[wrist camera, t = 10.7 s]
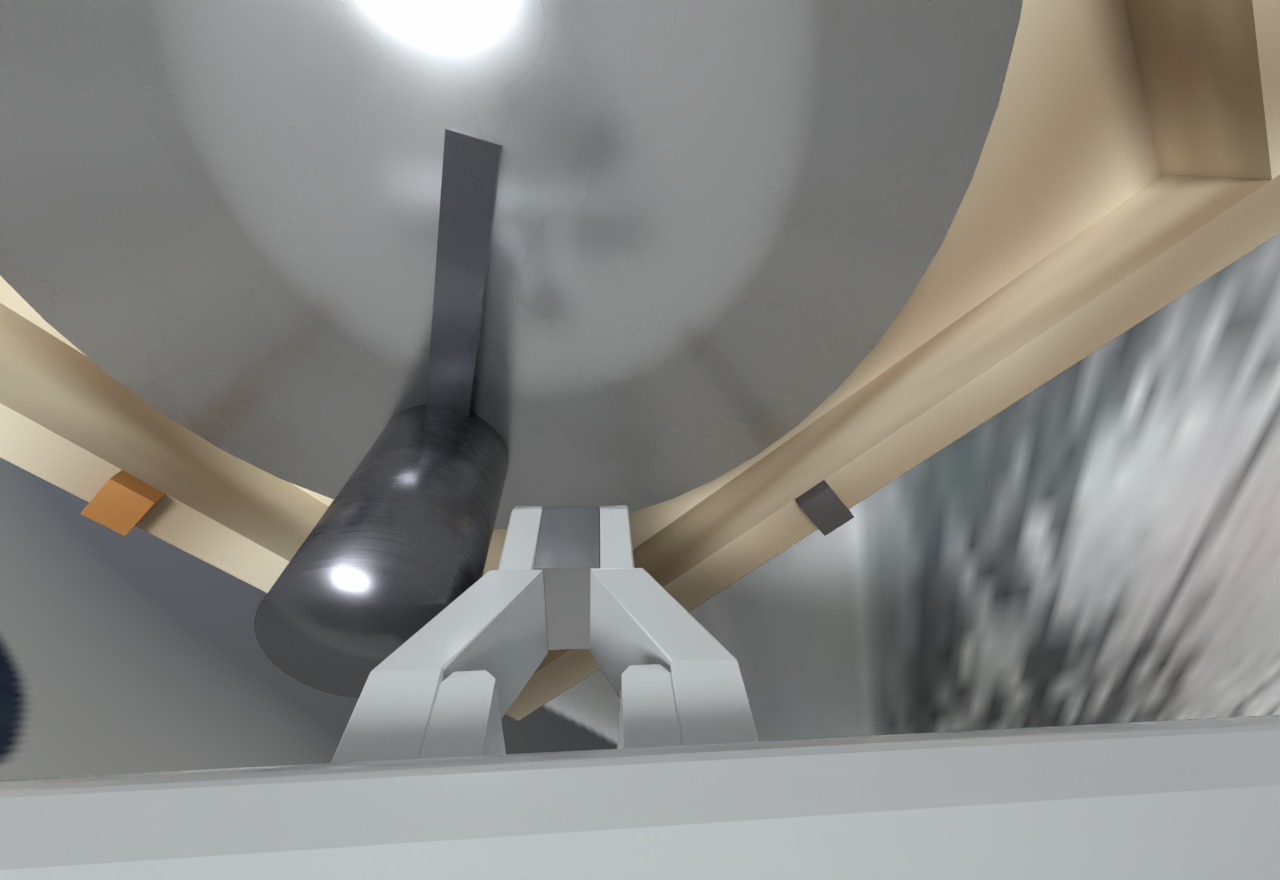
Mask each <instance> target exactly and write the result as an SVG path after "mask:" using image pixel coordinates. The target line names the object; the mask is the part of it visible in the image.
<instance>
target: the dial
mask: <svg viewBox="0 0 1280 880" xmlns="http://www.w3.org/2000/svg"><path fill="white" fill-rule="evenodd" d="M1022 3H1023V0H0V276H1V277H2V278H3V279H4V280H5V281H6V282H7V283H8V284H9V285H10V286H11V287H12V288H13V289H14V290H15V291H16V292H17V293H18V294H19V295H20V296H21V297H22V298H23V299H24V300H25V301H26V302H27V303H28V304H29V305H30V306H31V307H32V308H33V309H34V310H35V311H36V312H37V313H38V314H39V315H40V316H41V317H42V318H43V319H44V320H45V321H46V322H47V323H48V324H50V325H51V326H52V327H53V328H54V329H55V330H57V331H58V332H59V333H60V334H61V335H62V336H64V337H65V338H66V339H67V340H68V341H69V342H71V343H72V344H73V345H74V346H75V347H76V348H78V349H79V350H80V351H81V352H82V353H84V354H85V355H86V356H87V357H88V358H89V359H91V360H92V361H93V362H94V363H95V364H96V365H98V366H99V367H100V368H101V369H102V370H103V371H105V372H106V373H107V374H108V375H110V376H111V377H112V378H114V379H115V380H117V381H118V382H119V383H121V384H122V385H123V386H125V387H126V388H128V389H129V390H130V391H132V392H133V393H135V394H136V395H137V396H139V397H140V398H142V399H143V400H144V401H146V402H147V403H148V404H150V405H151V406H153V407H154V408H155V409H157V410H158V411H160V412H161V413H162V414H164V415H165V416H167V417H168V418H170V419H171V420H173V421H175V422H176V423H178V424H180V425H181V426H183V427H185V428H186V429H188V430H190V431H191V432H193V433H195V434H196V435H198V436H200V437H201V438H203V439H205V440H206V441H208V442H210V443H211V444H213V445H215V446H216V447H218V448H220V449H221V450H223V451H225V452H227V453H229V454H231V455H233V456H235V457H237V458H239V459H241V460H243V461H245V462H247V463H249V464H251V465H253V466H255V467H257V468H259V469H261V470H263V471H265V472H268V473H270V474H272V475H274V476H276V477H278V478H280V479H282V480H285V481H287V482H290V483H292V484H295V485H298V486H300V487H303V488H305V489H308V490H311V491H313V492H316V493H318V494H321V495H324V496H326V497H329V498H331V499H334V500H333V502H332V503H331V504H330V506H329V507H328V509H327V510H326V511H325V513H324V514H323V516H322V517H321V519H320V520H319V521H318V523H317V524H316V526H315V527H314V528H313V530H312V531H311V533H310V534H309V535H308V537H307V538H306V540H305V541H304V542H303V544H302V545H301V547H300V548H299V549H298V551H297V552H296V554H295V555H294V557H293V558H292V559H291V561H290V562H289V564H288V565H287V566H286V568H285V569H284V571H283V572H282V573H281V575H280V576H279V578H278V579H277V580H276V582H275V583H274V585H273V586H272V588H271V589H270V590H269V592H268V593H267V595H266V596H265V597H264V599H263V600H262V602H261V603H260V605H259V607H258V609H257V611H256V615H255V621H254V624H255V625H254V626H255V634H256V637H257V640H258V642H259V645H260V646H261V648H262V650H263V651H264V653H265V654H266V656H267V657H268V658H269V659H270V660H271V661H272V662H273V663H274V664H275V665H276V666H277V667H278V668H280V669H281V670H282V671H283V672H285V673H287V674H288V675H290V676H291V677H292V678H294V679H296V680H298V681H300V682H301V683H304V684H306V685H308V686H311V687H313V688H315V689H318V690H321V691H324V692H327V693H331V694H335V695H339V696H345V697H351V698H359V697H360V695H361V692H362V690H363V688H364V686H365V683H366V681H367V679H368V676H369V674H370V672H371V671H372V670H373V669H374V668H375V667H377V666H378V665H379V664H380V663H381V662H382V661H384V660H385V659H386V658H387V657H388V656H389V655H391V654H392V653H393V652H394V651H395V650H396V649H398V648H399V647H400V646H401V645H402V644H404V643H405V642H406V641H407V640H408V639H409V638H411V637H412V636H413V635H414V634H415V633H416V632H418V631H419V630H420V629H421V628H422V627H423V626H425V625H426V624H427V623H428V622H429V621H431V620H432V619H433V618H434V617H435V616H436V615H438V614H439V613H440V612H441V611H442V610H443V609H445V608H446V607H447V606H448V605H449V604H450V603H452V602H453V601H454V600H455V599H456V598H457V597H459V596H460V595H461V594H462V593H463V592H465V591H466V590H467V589H468V588H469V587H470V586H472V585H473V584H474V583H475V582H476V581H477V580H479V579H480V578H481V577H482V576H483V572H484V567H485V563H486V559H487V555H488V551H489V547H490V542H491V538H492V534H493V530H494V529H508V525H509V521H510V516H511V512H512V510H513V508H514V507H515V506H542V507H544V506H575V507H599V508H600V506H617V505H627V507H628V508H629V513H631V512H634V511H637V510H640V509H643V508H646V507H649V506H653V505H656V504H659V503H662V502H665V501H668V500H671V499H673V498H676V497H678V496H680V495H682V494H685V493H687V492H689V491H691V490H693V489H696V488H698V487H700V486H702V485H705V484H707V483H709V482H711V481H713V480H715V479H717V478H719V477H721V476H722V475H724V474H726V473H728V472H729V471H731V470H733V469H734V468H736V467H738V466H740V465H741V464H743V463H745V462H746V461H748V460H750V459H752V458H753V457H755V456H757V455H758V454H759V453H761V452H762V451H763V450H765V449H766V448H768V447H769V446H770V445H772V444H773V443H774V442H776V441H777V440H779V439H780V438H781V437H783V436H784V435H785V434H787V433H788V432H789V431H791V430H792V429H794V428H795V427H796V426H797V425H799V424H800V423H801V422H802V421H803V420H804V419H805V418H806V417H807V416H809V415H810V414H811V413H812V412H813V411H814V410H815V409H816V408H817V407H818V406H820V405H821V404H822V403H823V402H824V401H825V400H826V399H827V398H828V397H829V396H831V395H832V394H833V393H834V392H835V391H836V390H837V389H838V388H839V387H840V386H841V384H842V383H843V382H844V381H845V380H846V379H847V378H848V377H849V376H850V374H851V373H852V372H853V371H854V370H855V369H856V368H857V367H858V366H859V364H860V363H861V362H862V361H863V360H864V359H865V358H866V357H867V356H868V354H869V353H870V352H871V351H872V350H873V349H874V347H875V346H876V345H877V343H878V342H879V341H880V339H881V338H882V336H883V335H884V334H885V332H886V331H887V330H888V328H889V327H890V325H891V324H892V323H893V321H894V320H895V319H896V317H897V316H898V315H899V313H900V312H901V310H902V309H903V308H904V306H905V305H906V304H907V302H908V301H909V299H910V298H911V296H912V294H913V292H914V291H915V289H916V287H917V286H918V284H919V282H920V281H921V279H922V277H923V275H924V274H925V272H926V270H927V269H928V267H929V265H930V264H931V262H932V260H933V259H934V257H935V255H936V253H937V252H938V250H939V248H940V247H941V245H942V243H943V241H944V239H945V237H946V234H947V232H948V230H949V228H950V226H951V224H952V221H953V219H954V217H955V215H956V213H957V211H958V209H959V206H960V204H961V202H962V200H963V198H964V196H965V194H966V191H967V189H968V187H969V185H970V183H971V181H972V178H973V175H974V173H975V170H976V167H977V164H978V161H979V158H980V156H981V153H982V150H983V147H984V144H985V141H986V139H987V136H988V133H989V130H990V127H991V124H992V122H993V119H994V116H995V113H996V110H997V108H998V105H999V101H1000V97H1001V93H1002V89H1003V85H1004V81H1005V77H1006V73H1007V69H1008V65H1009V61H1010V57H1011V53H1012V49H1013V45H1014V41H1015V37H1016V33H1017V29H1018V25H1019V21H1020V16H1021V10H1022Z"/></svg>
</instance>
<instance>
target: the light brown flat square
mask: <svg viewBox="0 0 1280 880" xmlns="http://www.w3.org/2000/svg"><path fill="white" fill-rule="evenodd" d="M1278 233H1280V0H1023V3H1022V10H1021V16H1020V21H1019V25H1018V29H1017V33H1016V37H1015V41H1014V45H1013V49H1012V53H1011V57H1010V61H1009V65H1008V69H1007V73H1006V77H1005V81H1004V85H1003V89H1002V93H1001V97H1000V101H999V105H998V108H997V110H996V113H995V116H994V119H993V122H992V124H991V127H990V130H989V133H988V136H987V139H986V141H985V144H984V147H983V150H982V153H981V156H980V158H979V161H978V164H977V167H976V170H975V173H974V175H973V178H972V181H971V183H970V185H969V187H968V189H967V191H966V194H965V196H964V198H963V200H962V202H961V204H960V206H959V209H958V211H957V213H956V215H955V217H954V219H953V221H952V224H951V226H950V228H949V230H948V232H947V234H946V237H945V239H944V241H943V243H942V245H941V247H940V248H939V250H938V252H937V253H936V255H935V257H934V259H933V260H932V262H931V264H930V265H929V267H928V269H927V270H926V272H925V274H924V275H923V277H922V279H921V281H920V282H919V284H918V286H917V287H916V289H915V291H914V292H913V294H912V296H911V298H910V299H909V301H908V302H907V304H906V305H905V306H904V308H903V309H902V310H901V312H900V313H899V315H898V316H897V317H896V319H895V320H894V321H893V323H892V324H891V325H890V327H889V328H888V330H887V331H886V332H885V334H884V335H883V336H882V338H881V339H880V341H879V342H878V343H877V345H876V346H875V347H874V349H873V350H872V351H871V352H870V353H869V354H868V356H867V357H866V358H865V359H864V360H863V361H862V362H861V363H860V364H859V366H858V367H857V368H856V369H855V370H854V371H853V372H852V373H851V374H850V376H849V377H848V378H847V379H846V380H845V381H844V382H843V383H842V384H841V386H840V387H839V388H838V389H837V390H836V391H835V392H834V393H833V394H832V395H831V396H829V397H828V398H827V399H826V400H825V401H824V402H823V403H822V404H821V405H820V406H818V407H817V408H816V409H815V410H814V411H813V412H812V413H811V414H810V415H809V416H807V417H806V418H805V419H804V420H803V421H802V422H801V423H800V424H799V425H797V426H796V427H795V428H794V429H792V430H791V431H789V432H788V433H787V434H785V435H784V436H783V437H781V438H780V439H779V440H777V441H776V442H774V443H773V444H772V445H770V446H769V447H768V448H766V449H765V450H763V451H762V452H761V453H759V454H758V455H757V456H755V457H753V458H752V459H750V460H748V461H746V462H745V463H743V464H741V465H740V466H738V467H736V468H734V469H733V470H731V471H729V472H728V473H726V474H724V475H722V476H721V477H719V478H717V479H715V480H713V481H711V482H709V483H707V484H705V485H702V486H700V487H698V488H696V489H693V490H691V491H689V492H687V493H685V494H682V495H680V496H678V497H676V498H673V499H671V500H668V501H665V502H662V503H659V504H656V505H653V506H649V507H646V508H643V509H640V510H637V511H634V512H631V513H629V518H630V528H631V538H632V549H633V559H634V568H643V569H644V570H645V571H646V572H647V573H648V574H650V575H651V576H652V577H653V578H654V579H655V580H656V581H657V582H658V583H659V584H660V585H661V586H662V587H663V588H664V589H665V590H666V591H667V592H668V593H669V594H670V595H671V596H672V597H673V598H674V599H675V600H676V601H677V602H678V603H679V604H680V605H681V606H682V607H683V608H684V609H685V610H686V611H687V612H689V611H690V610H692V609H694V608H695V607H697V606H698V605H700V604H701V603H703V602H705V601H706V600H708V599H709V598H711V597H712V596H714V595H715V594H717V593H719V592H720V591H722V590H723V589H725V588H726V587H728V586H729V585H731V584H733V583H734V582H736V581H737V580H739V579H740V578H742V577H743V576H745V575H747V574H748V573H750V572H751V571H753V570H754V569H756V568H757V567H759V566H761V565H762V564H764V563H765V562H767V561H768V560H770V559H772V558H773V557H775V556H776V555H778V554H779V553H781V552H782V551H784V550H786V549H787V548H789V547H790V546H792V545H793V544H795V543H796V542H798V541H800V540H801V539H803V538H804V537H806V536H807V535H809V534H810V533H812V532H814V531H815V530H817V529H819V530H820V531H821V532H822V533H823V534H824V535H827V534H828V533H830V532H831V531H833V530H835V529H836V528H838V527H839V526H841V525H843V524H844V523H846V522H847V521H849V520H850V519H852V518H854V516H853V515H852V514H851V512H850V511H849V510H848V509H849V508H851V507H853V506H854V505H856V504H857V503H859V502H860V501H862V500H863V499H865V498H867V497H868V496H870V495H871V494H873V493H874V492H876V491H877V490H879V489H881V488H882V487H884V486H885V485H887V484H888V483H890V482H892V481H893V480H895V479H896V478H898V477H899V476H901V475H902V474H904V473H906V472H907V471H909V470H910V469H912V468H913V467H915V466H916V465H918V464H920V463H921V462H923V461H924V460H926V459H927V458H929V457H930V456H932V455H934V454H935V453H937V452H938V451H940V450H941V449H943V448H945V447H946V446H948V445H949V444H951V443H952V442H954V441H955V440H957V439H959V438H960V437H962V436H963V435H965V434H966V433H968V432H969V431H971V430H973V429H974V428H976V427H977V426H979V425H980V424H982V423H983V422H985V421H987V420H988V419H990V418H991V417H993V416H994V415H996V414H998V413H999V412H1001V411H1002V410H1004V409H1005V408H1007V407H1008V406H1010V405H1012V404H1013V403H1015V402H1016V401H1018V400H1019V399H1021V398H1022V397H1024V396H1026V395H1027V394H1029V393H1030V392H1032V391H1033V390H1035V389H1036V388H1038V387H1040V386H1041V385H1043V384H1044V383H1046V382H1047V381H1049V380H1050V379H1052V378H1054V377H1055V376H1057V375H1058V374H1060V373H1061V372H1063V371H1065V370H1066V369H1068V368H1069V367H1071V366H1072V365H1074V364H1075V363H1077V362H1079V361H1080V360H1082V359H1083V358H1085V357H1086V356H1088V355H1089V354H1091V353H1093V352H1094V351H1096V350H1097V349H1099V348H1100V347H1102V346H1103V345H1105V344H1107V343H1108V342H1110V341H1111V340H1113V339H1114V338H1116V337H1118V336H1119V335H1121V334H1122V333H1124V332H1125V331H1127V330H1128V329H1130V328H1132V327H1133V326H1135V325H1136V324H1138V323H1139V322H1141V321H1142V320H1144V319H1146V318H1147V317H1149V316H1150V315H1152V314H1153V313H1155V312H1156V311H1158V310H1160V309H1161V308H1163V307H1164V306H1166V305H1167V304H1169V303H1170V302H1172V301H1174V300H1175V299H1177V298H1178V297H1180V296H1181V295H1183V294H1185V293H1186V292H1188V291H1189V290H1191V289H1192V288H1194V287H1195V286H1197V285H1199V284H1200V283H1202V282H1203V281H1205V280H1206V279H1208V278H1209V277H1211V276H1213V275H1214V274H1216V273H1217V272H1219V271H1220V270H1222V269H1223V268H1225V267H1227V266H1228V265H1230V264H1231V263H1233V262H1234V261H1236V260H1238V259H1239V258H1241V257H1242V256H1244V255H1245V254H1247V253H1248V252H1250V251H1252V250H1253V249H1255V248H1256V247H1258V246H1259V245H1261V244H1262V243H1264V242H1266V241H1267V240H1269V239H1270V238H1272V237H1273V236H1275V235H1276V234H1278ZM0 457H1V458H3V459H5V460H7V461H9V462H11V463H13V464H15V465H17V466H19V467H21V468H23V469H25V470H27V471H29V472H31V473H33V474H35V475H37V476H39V477H40V478H42V479H44V480H47V481H48V482H50V483H52V484H54V485H56V486H58V487H60V488H62V489H64V490H66V491H68V492H70V493H72V494H74V495H76V496H78V497H80V498H82V499H84V500H86V501H88V502H90V503H89V504H88V505H87V506H86V508H85V509H84V510H83V511H82V512H81V514H82V515H84V516H86V517H88V518H90V519H92V520H94V521H96V522H98V523H100V524H102V525H104V526H106V527H108V528H110V529H112V530H114V531H116V532H118V533H120V534H122V535H124V536H125V535H127V534H128V533H129V532H130V531H131V530H133V529H134V528H135V527H136V526H137V527H139V528H141V529H143V530H145V531H147V532H149V533H151V534H152V535H154V536H157V537H158V538H160V539H162V540H164V541H166V542H168V543H170V544H172V545H174V546H176V547H178V548H180V549H182V550H184V551H186V552H188V553H190V554H192V555H194V556H196V557H198V558H200V559H202V560H204V561H206V562H208V563H210V564H212V565H213V566H215V567H217V568H219V569H221V570H223V571H225V572H227V573H229V574H231V575H233V576H235V577H237V578H239V579H241V580H243V581H245V582H247V583H249V584H251V585H253V586H255V587H257V588H259V589H261V590H263V591H265V592H267V593H268V592H269V590H270V589H271V588H272V586H273V585H274V583H275V582H276V580H277V579H278V578H279V576H280V575H281V573H282V572H283V571H284V569H285V568H286V566H287V565H288V564H289V562H290V561H291V559H292V558H293V557H294V555H295V554H296V552H297V551H298V549H299V548H300V547H301V545H302V544H303V542H304V541H305V540H306V538H307V537H308V535H309V534H310V533H311V531H312V530H313V528H314V527H315V526H316V524H317V523H318V521H319V520H320V519H321V517H322V516H323V514H324V513H325V511H326V510H327V509H328V507H329V506H330V504H331V503H332V502H333V500H334V499H331V498H329V497H326V496H324V495H321V494H318V493H316V492H313V491H311V490H308V489H305V488H303V487H300V486H298V485H295V484H292V483H290V482H287V481H285V480H282V479H280V478H278V477H276V476H274V475H272V474H270V473H268V472H265V471H263V470H261V469H259V468H257V467H255V466H253V465H251V464H249V463H247V462H245V461H243V460H241V459H239V458H237V457H235V456H233V455H231V454H229V453H227V452H225V451H223V450H221V449H220V448H218V447H216V446H215V445H213V444H211V443H210V442H208V441H206V440H205V439H203V438H201V437H200V436H198V435H196V434H195V433H193V432H191V431H190V430H188V429H186V428H185V427H183V426H181V425H180V424H178V423H176V422H175V421H173V420H171V419H170V418H168V417H167V416H165V415H164V414H162V413H161V412H160V411H158V410H157V409H155V408H154V407H153V406H151V405H150V404H148V403H147V402H146V401H144V400H143V399H142V398H140V397H139V396H137V395H136V394H135V393H133V392H132V391H130V390H129V389H128V388H126V387H125V386H123V385H122V384H121V383H119V382H118V381H117V380H115V379H114V378H112V377H111V376H110V375H108V374H107V373H106V372H105V371H103V370H102V369H101V368H100V367H99V366H98V365H96V364H95V363H94V362H93V361H92V360H91V359H89V358H88V357H87V356H86V355H85V354H84V353H82V352H81V351H80V350H79V349H78V348H76V347H75V346H74V345H73V344H72V343H71V342H69V341H68V340H67V339H66V338H65V337H64V336H62V335H61V334H60V333H59V332H58V331H57V330H55V329H54V328H53V327H52V326H51V325H50V324H48V323H47V322H46V321H45V320H44V319H43V318H42V317H41V316H40V315H39V314H38V313H37V312H36V311H35V310H34V309H33V308H32V307H31V306H30V305H29V304H28V303H27V302H26V301H25V300H24V299H23V298H22V297H21V296H20V295H19V294H18V293H17V292H16V291H15V290H14V289H13V288H12V287H11V286H10V285H9V284H8V283H7V282H6V281H5V280H4V279H3V278H2V277H1V276H0ZM506 533H507V529H494V530H493V534H492V538H491V542H490V547H489V551H488V555H487V559H486V563H485V567H484V572H483V575H484V574H486V573H487V572H488V571H491V570H498V568H499V564H500V559H501V555H502V551H503V546H504V542H505V538H506ZM599 669H600V666H599V664H598V663H597V661H596V660H595V658H594V657H593V655H592V653H591V652H590V649H561V650H548V654H547V655H546V657H545V658H544V659H543V661H542V662H541V664H540V665H539V666H538V668H537V669H536V671H535V672H534V674H533V675H532V676H531V678H530V679H529V681H528V682H527V683H526V685H525V686H524V688H523V689H522V691H521V692H520V693H519V695H518V696H517V698H516V699H515V700H514V702H513V703H512V705H511V706H510V708H509V709H508V710H507V712H506V713H505V714H506V715H508V716H510V717H512V718H514V719H516V720H518V721H519V720H520V719H522V718H523V717H525V716H527V715H528V714H530V713H532V712H533V711H535V710H536V709H538V708H539V707H541V706H542V705H544V704H546V703H547V702H549V701H550V700H552V699H553V698H555V697H556V696H558V695H560V694H561V693H563V692H564V691H566V690H567V689H569V688H570V687H572V686H574V685H575V684H577V683H578V682H580V681H581V680H583V679H584V678H586V677H588V676H589V675H591V674H592V673H594V672H595V671H597V670H599Z"/></svg>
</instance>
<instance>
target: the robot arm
mask: <svg viewBox="0 0 1280 880" xmlns="http://www.w3.org/2000/svg"><path fill="white" fill-rule="evenodd" d="M561 649H590V652H591V653H592V655H593V657H594V658H595V660H596V661H597V663H598V664H599V666H600V668H601V669H602V671H603V672H604V674H605V676H606V677H607V679H608V680H609V682H610V683H611V685H612V687H613V688H614V690H615V691H616V693H617V695H618V696H619V698H620V710H619V727H618V744H617V749H607V750H606V749H605V750H586V751H566V752H548V753H526V754H506V752H505V745H504V738H503V731H502V723H501V719H502V717H503V716H504V715H505V713H506V712H507V710H508V709H509V708H510V706H511V705H512V703H513V702H514V700H515V699H516V698H517V696H518V695H519V693H520V692H521V691H522V689H523V688H524V686H525V685H526V683H527V682H528V681H529V679H530V678H531V676H532V675H533V674H534V672H535V671H536V669H537V668H538V666H539V665H540V664H541V662H542V661H543V659H544V658H545V657H546V655H547V654H548V650H561ZM0 880H1280V715H1267V716H1248V717H1229V718H1210V719H1190V720H1170V721H1150V722H1131V723H1111V724H1091V725H1071V726H1052V727H1032V728H1012V729H993V730H973V731H953V732H933V733H914V734H894V735H874V736H854V737H835V738H815V739H796V740H777V741H760V740H759V736H758V733H757V729H756V725H755V722H754V718H753V715H752V711H751V708H750V704H749V701H748V697H747V693H746V690H745V686H744V683H743V679H742V676H741V672H740V668H739V665H738V661H737V659H736V658H735V657H734V656H733V655H732V654H731V653H730V652H729V651H728V650H726V649H725V648H724V647H723V646H722V645H721V644H720V643H719V642H718V641H717V640H716V639H715V638H714V637H713V636H712V635H711V634H710V633H709V632H708V631H707V630H706V629H705V628H704V627H703V626H702V625H701V624H700V623H699V622H698V621H697V620H696V619H695V618H694V617H693V616H692V615H691V614H690V613H689V612H687V611H686V610H685V609H684V608H683V607H682V606H681V605H680V604H679V603H678V602H677V601H676V600H675V599H674V598H673V597H672V596H671V595H670V594H669V593H668V592H667V591H666V590H665V589H664V588H663V587H662V586H661V585H660V584H659V583H658V582H657V581H656V580H655V579H654V578H653V577H652V576H651V575H650V574H648V573H647V572H646V571H645V570H644V569H643V568H634V559H633V549H632V538H631V528H630V518H629V508H628V507H627V505H617V506H600V508H599V507H575V506H544V507H542V506H515V507H514V508H513V510H512V512H511V516H510V521H509V525H508V529H507V533H506V538H505V542H504V546H503V551H502V555H501V559H500V564H499V568H498V570H491V571H488V572H487V573H486V574H484V575H483V576H482V577H481V578H480V579H479V580H477V581H476V582H475V583H474V584H473V585H472V586H470V587H469V588H468V589H467V590H466V591H465V592H463V593H462V594H461V595H460V596H459V597H457V598H456V599H455V600H454V601H453V602H452V603H450V604H449V605H448V606H447V607H446V608H445V609H443V610H442V611H441V612H440V613H439V614H438V615H436V616H435V617H434V618H433V619H432V620H431V621H429V622H428V623H427V624H426V625H425V626H423V627H422V628H421V629H420V630H419V631H418V632H416V633H415V634H414V635H413V636H412V637H411V638H409V639H408V640H407V641H406V642H405V643H404V644H402V645H401V646H400V647H399V648H398V649H396V650H395V651H394V652H393V653H392V654H391V655H389V656H388V657H387V658H386V659H385V660H384V661H382V662H381V663H380V664H379V665H378V666H377V667H375V668H374V669H373V670H372V671H371V672H370V674H369V676H368V679H367V681H366V683H365V686H364V688H363V690H362V692H361V695H360V697H359V699H358V702H357V704H356V706H355V709H354V711H353V713H352V715H351V718H350V720H349V722H348V725H347V727H346V729H345V731H344V734H343V736H342V739H341V741H340V743H339V745H338V747H337V750H336V752H335V755H334V757H333V759H332V761H331V763H327V764H307V765H289V766H268V767H248V768H230V769H210V770H191V771H170V772H150V773H132V774H111V775H92V776H72V777H52V778H33V779H14V780H0Z"/></svg>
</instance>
